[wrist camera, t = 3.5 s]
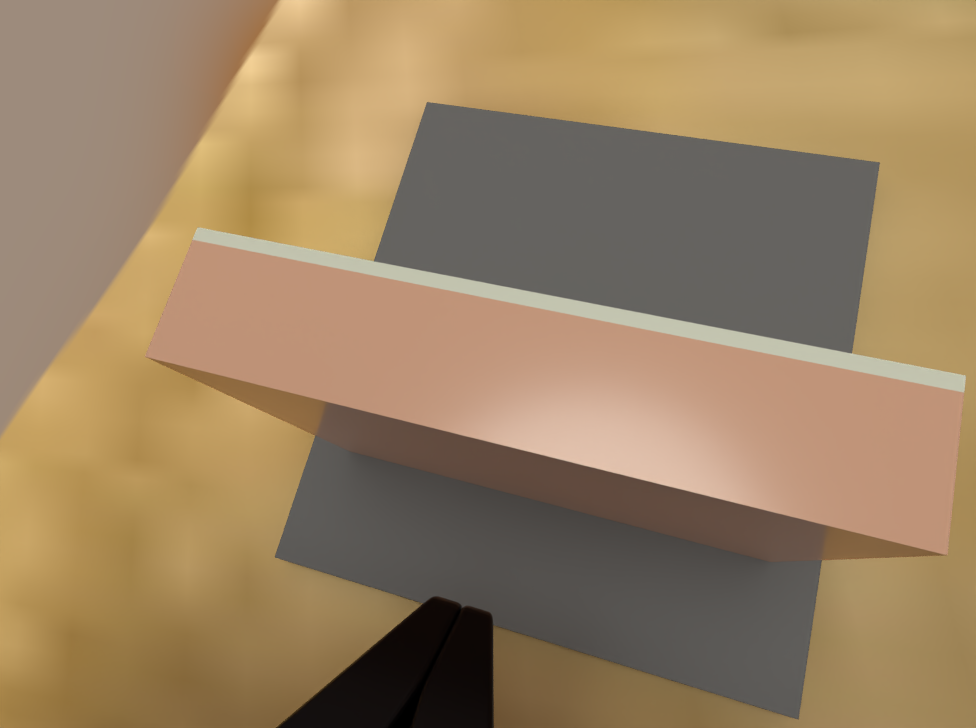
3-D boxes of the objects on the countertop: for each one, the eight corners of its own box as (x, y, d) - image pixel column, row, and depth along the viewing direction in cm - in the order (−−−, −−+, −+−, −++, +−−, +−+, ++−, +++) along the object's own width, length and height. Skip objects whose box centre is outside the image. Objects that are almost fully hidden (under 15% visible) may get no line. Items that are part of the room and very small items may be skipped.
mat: (790, 713, 14) (798, 719, 14) (285, 557, 17) (274, 557, 16) (870, 175, 17) (879, 162, 17) (432, 115, 20) (427, 102, 20)
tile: (770, 562, 15) (947, 555, 7) (349, 451, 17) (145, 356, 9) (785, 471, 15) (965, 375, 8) (373, 375, 17) (197, 227, 10)
